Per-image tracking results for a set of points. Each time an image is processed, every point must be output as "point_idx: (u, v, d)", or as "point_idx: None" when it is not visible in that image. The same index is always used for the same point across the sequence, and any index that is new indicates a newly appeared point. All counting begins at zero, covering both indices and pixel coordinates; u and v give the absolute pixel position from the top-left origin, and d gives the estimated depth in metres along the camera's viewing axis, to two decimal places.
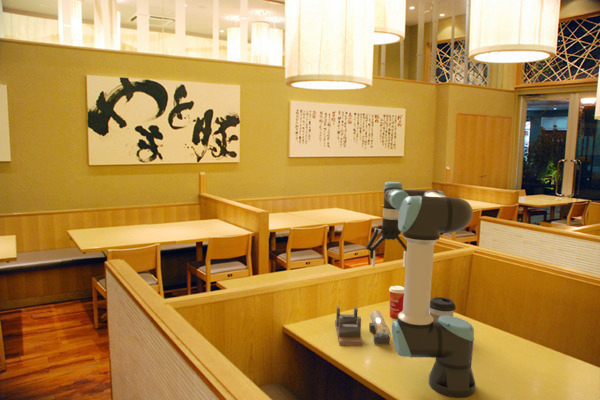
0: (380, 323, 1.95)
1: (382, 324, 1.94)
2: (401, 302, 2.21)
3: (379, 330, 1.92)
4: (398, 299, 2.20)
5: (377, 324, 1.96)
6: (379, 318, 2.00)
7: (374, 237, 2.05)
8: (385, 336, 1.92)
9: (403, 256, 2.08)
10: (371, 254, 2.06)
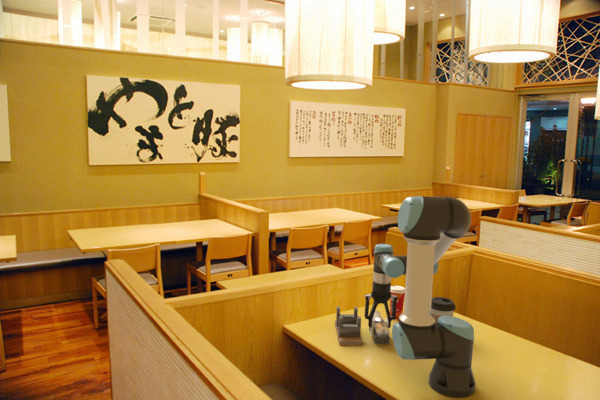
0: (379, 323, 1.95)
1: (381, 324, 1.94)
2: (401, 302, 2.21)
3: (378, 330, 1.92)
4: (398, 299, 2.20)
5: (376, 324, 1.96)
6: (378, 318, 2.00)
7: (367, 305, 1.98)
8: (385, 336, 1.92)
9: None
10: (369, 323, 2.00)
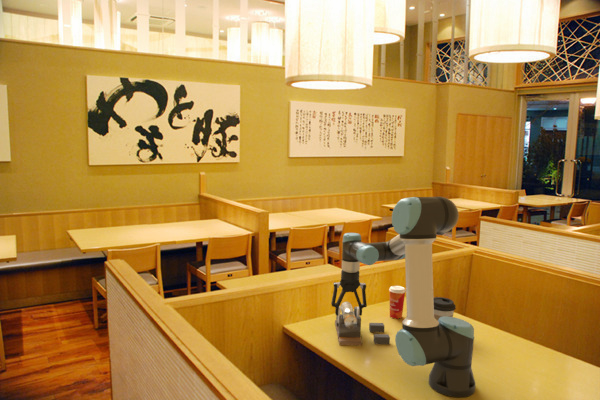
0: (348, 314, 1.96)
1: (350, 315, 1.95)
2: (401, 302, 2.21)
3: (346, 321, 1.93)
4: (398, 299, 2.20)
5: (345, 315, 1.97)
6: (348, 309, 2.02)
7: (335, 292, 2.00)
8: (353, 326, 1.93)
9: None
10: (336, 311, 2.01)
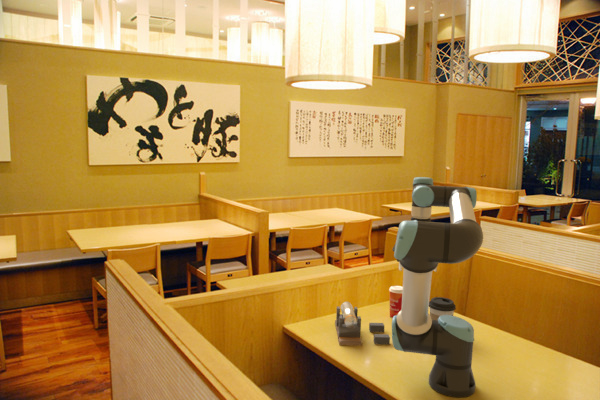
0: (348, 314, 1.96)
1: (350, 315, 1.95)
2: (401, 302, 2.21)
3: (347, 320, 1.93)
4: (398, 299, 2.20)
5: (345, 315, 1.97)
6: (348, 309, 2.02)
7: None
8: (353, 326, 1.93)
9: None
10: None
